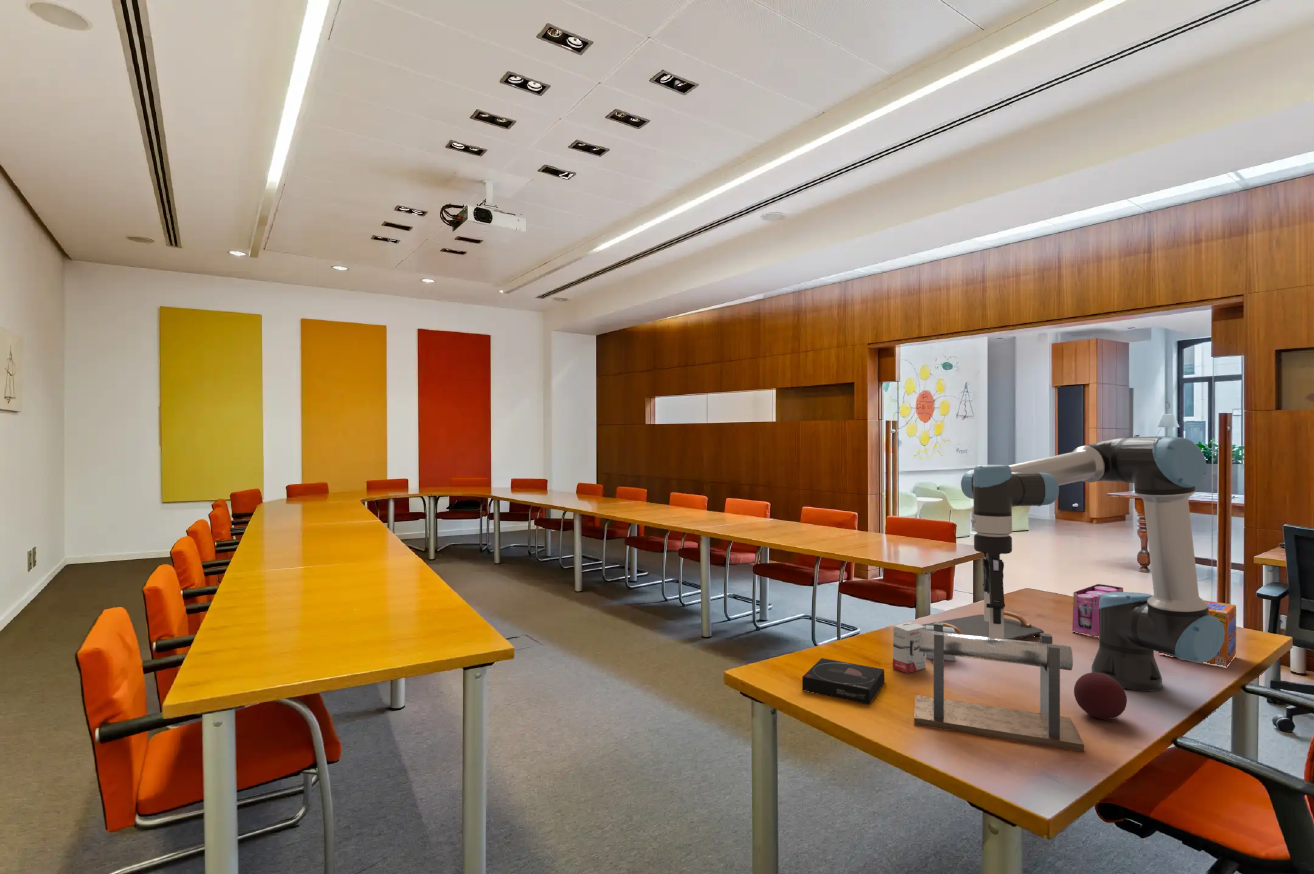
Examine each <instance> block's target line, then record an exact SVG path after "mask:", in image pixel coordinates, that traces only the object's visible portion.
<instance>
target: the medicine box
mask: <svg viewBox="0 0 1314 874" xmlns="http://www.w3.org/2000/svg"><path fill="white" fill-rule="evenodd" d="M926 630H928V631H934V626H929V625H926ZM943 632H946V633H955V630H954V628H952V627H943ZM925 659H930V660H931V659H932V660H934V654H932V653H926V657H925ZM944 661H949V662H950V661H952V662H956V656H948V655H944Z"/></svg>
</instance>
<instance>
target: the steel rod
mask: <svg viewBox="0 0 1314 874" xmlns="http://www.w3.org/2000/svg"><path fill="white" fill-rule="evenodd" d="M934 632H937V631H928V630H919V652H924V653H932V654H934ZM942 633H944V655H948V656H955V658H956V657H958V658H965V659H966V658H967V659H973V660H980V661H981V660H983V661H991V662H999V663H1005V664H1006V663H1007V664H1016V665H1022V666H1023V665H1024V666H1030V667H1032V666H1033V667H1038V668H1039V667H1047V644H1046V643H1040V642H1036V641H1026V640H1019V639H1018V640H1017V639H1014V640H1010V639H995V638H990V637H982V636H973V635H964V634H955V633H946V632H942ZM1051 645H1056V644H1055V643H1054V644H1053V643H1052V644H1051ZM1057 645H1058V646H1059V648H1060V670H1065V671H1072V670H1073V663H1074V657H1073V650H1072V647H1071V645H1066V644H1065V645H1064V644H1063V645H1062V644H1057Z"/></svg>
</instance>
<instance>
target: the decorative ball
mask: <svg viewBox="0 0 1314 874" xmlns="http://www.w3.org/2000/svg"><path fill="white" fill-rule="evenodd" d="M1124 689H1125V688H1122V686H1121V685H1120V684H1119V682H1117V681H1116V680H1115V679H1114V678H1112V677H1110V676H1109V675H1106V674H1103V673H1097V672H1092V673H1091V672H1088V673H1084V674H1083V675H1081V676H1080V677H1079V678H1077V680H1076V681H1075V683H1074V688H1073V694H1074V695H1073V696H1074V698H1075V701H1076V703H1077V704H1078V706H1079V708H1080V709H1081V710H1082V711H1084V712H1085V713H1086V714H1087V715H1089V716H1091V717H1093V718H1095V719H1100V720H1113V719H1115V718H1117V717H1119V716H1120V715H1122V714H1123V713H1124V711H1125V709H1126V708H1127V704H1128V700H1127V694H1126V691H1125V690H1124Z"/></svg>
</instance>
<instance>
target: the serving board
mask: <svg viewBox="0 0 1314 874" xmlns="http://www.w3.org/2000/svg"><path fill="white" fill-rule="evenodd" d="M1004 616H1008V617H1011V618H1015V620H1014V619H1010V618H1005V617H1004V639H1010V640H1017V639H1021V638H1027V637H1029V636H1035V637H1034V638H1036V637H1040V633H1045V631H1044V630H1043V629H1042V628H1038V627H1036V626H1033V625H1032V624H1031V623H1028V622H1027V621H1026V619H1025V618H1024V617H1023V616H1022V615H1019V614H1017V613H1015V612H1011V611H1006V610H1004ZM1016 619H1017V620H1019V621H1017V620H1016ZM940 622H941V623H943V627H952V628H954V630H955V634H964V635H973V636H982V637H989V622H988V621H984V614H975V615H970V616H969V615H968V616H963V617H959V618H958V617H957V618H952V619H945V620H942V621H940ZM921 625H922V626H926V625H929V626H934V622H930V623H924V624H921Z"/></svg>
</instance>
